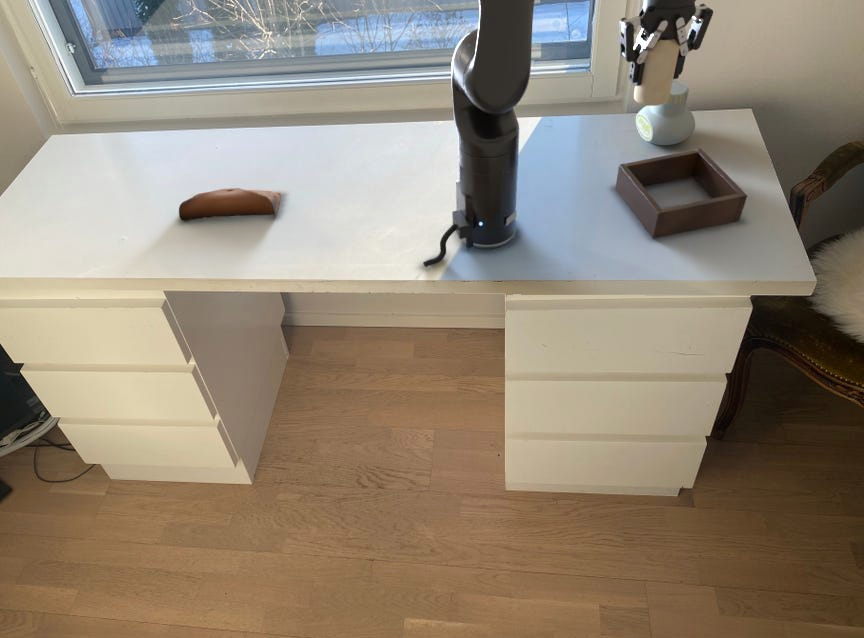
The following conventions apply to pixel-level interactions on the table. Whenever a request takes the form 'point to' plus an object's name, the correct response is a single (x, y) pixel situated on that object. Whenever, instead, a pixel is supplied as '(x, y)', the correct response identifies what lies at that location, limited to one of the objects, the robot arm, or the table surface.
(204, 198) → the sunglasses case
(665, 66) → the candle
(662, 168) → the walnut box
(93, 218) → the table surface
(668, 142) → the air freshener
